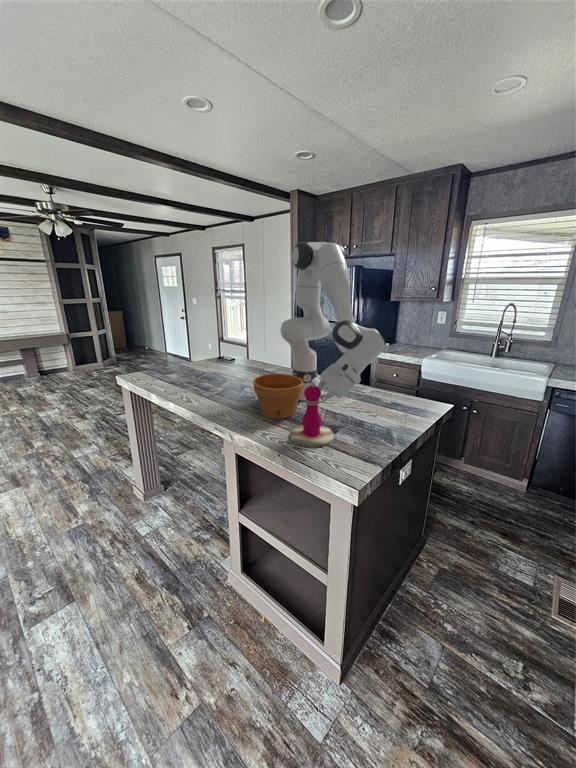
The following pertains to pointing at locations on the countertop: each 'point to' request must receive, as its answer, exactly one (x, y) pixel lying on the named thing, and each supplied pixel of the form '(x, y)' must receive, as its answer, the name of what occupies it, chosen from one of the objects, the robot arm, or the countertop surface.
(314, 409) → the pepper mill
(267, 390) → the flower pot
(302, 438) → the disc
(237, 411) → the countertop surface
